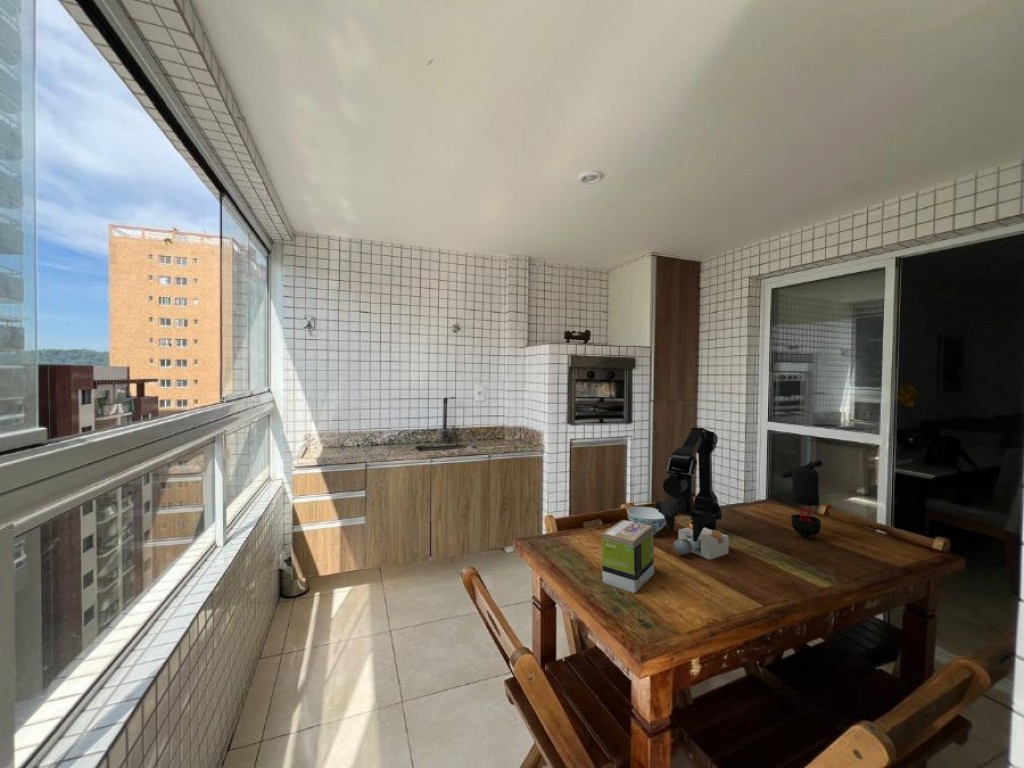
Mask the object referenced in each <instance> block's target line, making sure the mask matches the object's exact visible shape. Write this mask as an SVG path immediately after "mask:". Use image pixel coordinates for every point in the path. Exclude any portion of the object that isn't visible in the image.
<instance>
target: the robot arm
mask: <svg viewBox="0 0 1024 768" xmlns="http://www.w3.org/2000/svg"><path fill="white" fill-rule="evenodd" d="M718 440H719V439H718V435H717V434H716V433H715V432H714V431H710V430H708V429H706V428H704V427H698V426H697V427H695V426H694V427H690V428H689V433H688V435H687V437H686V438H685V441H684V442H683V443H682V446H680V447H678V448H675V450H673V451H672V453H671V454H670V456H669V459H668V463H667V467H666V474H669V475H668V477H667V478H666V479H665V480H664V481H663V484H662V488H663V491H664V493H665V494H667V495H669V496H670V497H669V498H664V499H660V500H656V502H655V504H654V505H655V506H654V508H655V509H657V510H658V512H660V513H661V514H662V515H663V516H664V518H665V520H666V526H667V529H668V530H669V531H668V532H669V533H673V532H674V527H675V521H676V516H677V515H681V514H683V515H685V516H688V517H690V519H691V521H690V522H691V524H692V525H693V541H694V542H696V541H697V539H698V537H699V536H700V534H701V532H702V530H703V528H707V529H710V530H717V529H718V528H717V525H718V524H717V521H718V520H722V519H723V515H722V508H721V507H720V504H719V502H718V497H717V495H716V494H715V492H714V489H713V488H714V487H713V463H712V462H713V459H712V458H713V457H712V456H713V452H714V451H715V450H716V448H717V444H718ZM696 454H697V456H698V458H696ZM697 459H698V461H697ZM697 465H698V483H699V484H698V485H699V486H698V487H699V488H698V489H699V490H698V493H697V494H696V493H693V475H694V474H695V472H696V468H697ZM693 498H694V500H693ZM693 501H694V502H693Z"/></svg>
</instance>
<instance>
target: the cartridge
mask: <svg viewBox="0 0 1024 768" xmlns="http://www.w3.org/2000/svg"><path fill="white" fill-rule="evenodd" d="M699 548H701V540H699V539H697V541H696V542H694V541H693V537H692V538H688V539H685V538H683V539H679V538H678V539H676V540H675V541H674V542H673V549H674V550H675V552H676V553H677V554H679V555H686V554H689V553H692V552H691V551H692V550H695V549H699Z"/></svg>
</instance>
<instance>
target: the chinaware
mask: <svg viewBox="0 0 1024 768" xmlns="http://www.w3.org/2000/svg"><path fill="white" fill-rule="evenodd" d="M627 517H628V519H629V520H628V521H631V522H635V523H640V524H645V525H650V526H653V536H655V535H657V533H658V532H660V531H661V530H662V529H663V528H664V527H665V526H666V525H667V523H666V520H665V518H664V516H663V515H662V514H661V513H660V512H658V510H657V509H655V507H649V506H632V507H630V508H628V509H627Z"/></svg>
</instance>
